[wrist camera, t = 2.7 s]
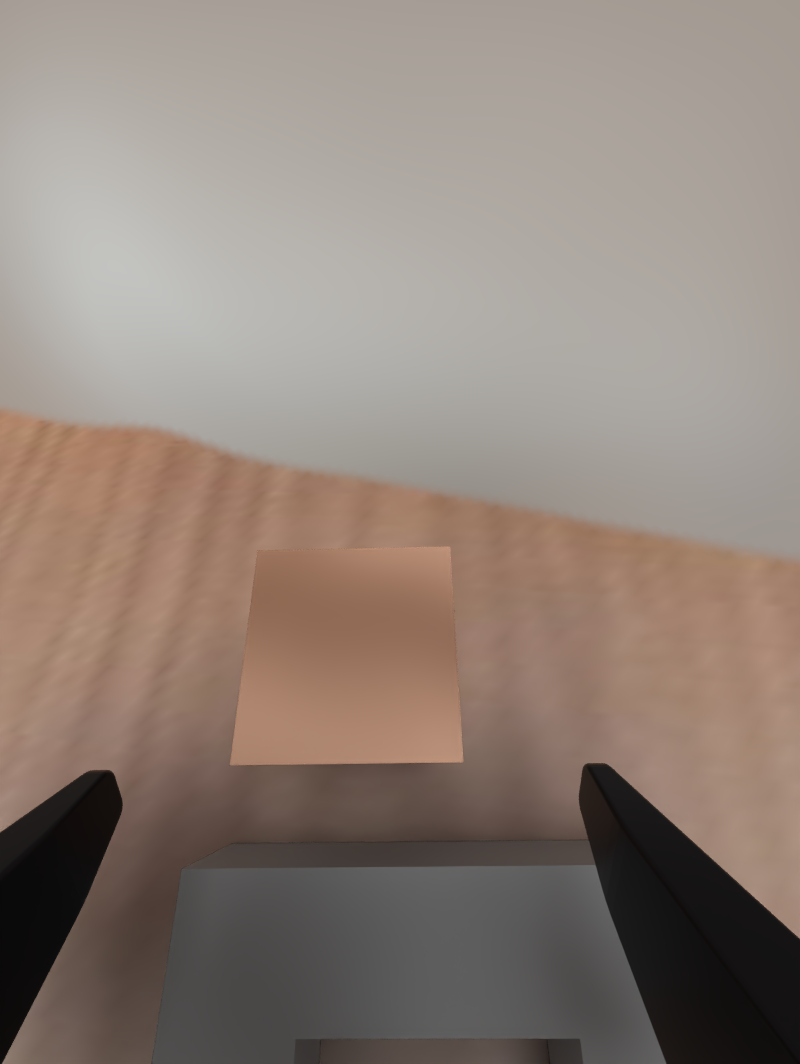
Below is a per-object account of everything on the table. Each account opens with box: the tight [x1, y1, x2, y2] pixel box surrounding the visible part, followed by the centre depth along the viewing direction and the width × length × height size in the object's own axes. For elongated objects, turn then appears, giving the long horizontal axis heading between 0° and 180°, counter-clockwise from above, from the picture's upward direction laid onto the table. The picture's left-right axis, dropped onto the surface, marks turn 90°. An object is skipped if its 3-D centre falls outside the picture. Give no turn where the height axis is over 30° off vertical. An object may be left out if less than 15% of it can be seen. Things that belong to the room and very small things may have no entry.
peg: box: [230, 546, 463, 765], centre depth 14 cm, size 4×4×10 cm
